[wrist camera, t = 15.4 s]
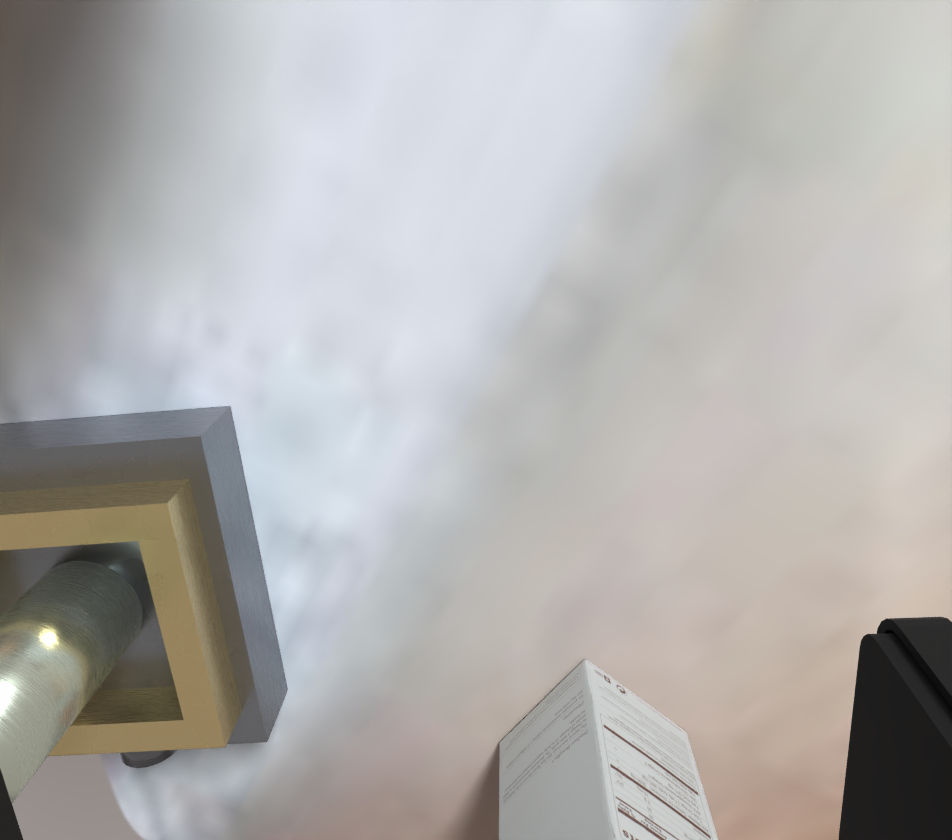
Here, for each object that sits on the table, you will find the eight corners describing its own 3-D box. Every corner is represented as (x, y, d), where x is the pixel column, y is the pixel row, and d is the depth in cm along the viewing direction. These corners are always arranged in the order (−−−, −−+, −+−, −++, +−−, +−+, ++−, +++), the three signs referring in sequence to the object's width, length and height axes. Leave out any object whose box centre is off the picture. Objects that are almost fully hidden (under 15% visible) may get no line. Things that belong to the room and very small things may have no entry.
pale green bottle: (23, 563, 38) (-185, 747, 27) (129, 557, 38) (-37, 742, 27) (50, 657, 40) (-136, 867, 29) (153, 652, 39) (5, 864, 28)
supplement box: (597, 811, 47) (627, 1046, 35) (495, 739, 45) (490, 959, 34) (691, 730, 45) (757, 950, 33) (587, 652, 43) (616, 853, 31)
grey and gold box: (-54, 428, 40) (-154, 483, 34) (230, 405, 40) (179, 458, 33) (43, 727, 46) (-28, 820, 40) (292, 714, 45) (258, 807, 39)
